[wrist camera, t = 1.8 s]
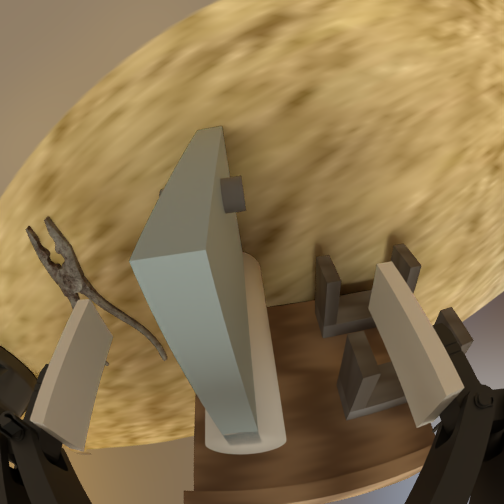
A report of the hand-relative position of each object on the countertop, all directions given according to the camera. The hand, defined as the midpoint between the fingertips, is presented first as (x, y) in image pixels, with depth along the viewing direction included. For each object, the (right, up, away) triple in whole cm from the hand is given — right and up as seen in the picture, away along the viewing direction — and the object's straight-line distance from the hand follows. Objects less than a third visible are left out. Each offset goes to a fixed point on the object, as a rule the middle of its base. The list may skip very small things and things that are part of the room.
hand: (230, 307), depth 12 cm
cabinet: (+5, -3, +14) cm, 15 cm away
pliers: (-16, -3, +13) cm, 21 cm away
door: (-1, +5, +8) cm, 10 cm away
